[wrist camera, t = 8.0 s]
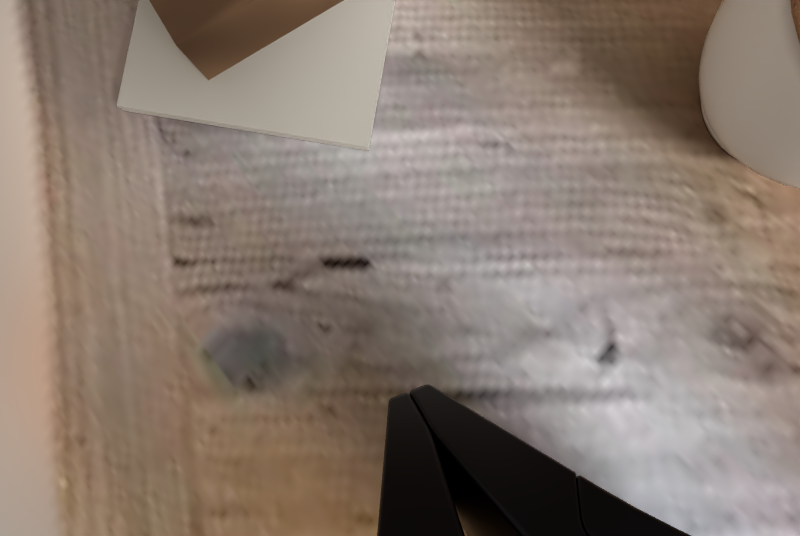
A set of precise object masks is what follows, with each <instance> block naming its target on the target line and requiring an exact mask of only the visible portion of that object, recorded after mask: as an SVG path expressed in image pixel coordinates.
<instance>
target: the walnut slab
mask: <svg viewBox="0 0 800 536" xmlns="http://www.w3.org/2000/svg"><path fill="white" fill-rule="evenodd" d="M149 1H150V3H151V4H152V6H153V8H154V9H155V11H156V13H157V14H158V16H159V18H160V19H161V21H162V23H163V24H164V26H165V28H166V29H167V31H168V33H169V34H170V36H171V38H172V39H173V41H174V43H175V44H176V46H177V47H178V48H179V49H180V50H181V51H182V53H183V54H184V55H185V56H186V57H187V58H188V59H189V60H190V61H191V62H192V63H193V64H194V65H195V66H196V68H197V69H198V70H199V71H200V72H201V73H202V74H203V75H204V76H205V77H206V78H207V79H208V80H210V79H212V78H213V77H215V76H217V75H219V74H220V73H222V72H224V71H225V70H227V69H229V68H230V67H232V66H234V65H235V64H237V63H239V62H241V61H242V60H244V59H246V58H247V57H249V56H251V55H252V54H254V53H256V52H257V51H259V50H261V49H262V48H264V47H266V46H268V45H269V44H271V43H273V42H274V41H276V40H278V39H279V38H281V37H283V36H284V35H286V34H288V33H289V32H291V31H293V30H295V29H296V28H298V27H300V26H301V25H303V24H305V23H306V22H308V21H310V20H311V19H313V18H315V17H316V16H318V15H320V14H322V13H323V12H325V11H327V10H328V9H330V8H332V7H333V6H335V5H337V4H338V3H340V2H342V1H344V0H149Z"/></svg>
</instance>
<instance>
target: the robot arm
mask: <svg viewBox="0 0 800 536" xmlns="http://www.w3.org/2000/svg"><path fill="white" fill-rule="evenodd" d="M461 524H462V526H463V528H464V530H465V531H466V533H467V535H468V536H691V535H689V534H687V533H684V532H682V531H680V530H678V529H676V528H674V527H672V526H670V525H668V524H666V523H664V522H663V521H661V520H659V519H657V518H655V517H653V516H651V515H649V514H647V513H645V512H643V511H641V510H639V509H637V508H635V507H633V506H632V505H630V504H628V503H626V502H625V501H623V500H621V499H619V498H618V497H616V496H614V495H612V494H611V493H609V492H607V491H605V490H604V489H602V488H600V487H599V486H597V485H595V484H594V483H592V482H590V481H589V480H587V479H585V478H584V477H582V476H580V475H579V476H576V473H575V472H574V471H572V470H570V469H569V468H567V467H565V466H564V465H562V464H560V463H559V462H557V461H555V460H554V459H552V458H550V457H549V456H547V455H545V454H544V453H542V452H540V451H539V450H537V449H535V448H534V447H532V446H530V445H529V444H527V443H525V442H524V441H522V440H520V439H519V438H517V437H516V436H514V435H512V434H511V433H509V432H507V431H506V430H504V429H502V428H501V427H499V426H497V425H496V424H494V423H492V422H491V421H489V420H487V419H486V418H484V417H482V416H481V415H479V414H477V413H476V412H474V411H472V410H471V409H469V408H467V407H466V406H464V405H462V404H461V403H459V402H458V401H456V400H454V399H453V398H451V397H449V396H448V395H446V394H444V393H443V392H441V391H439V390H438V389H436V388H434V387H433V386H431V385H428V384H427V385H423V386H421V387H418V388H416V389H413V390H411V392H410V394H409V393H403V394H400V395H398V396H395V397H393V398H391V399H390V400H389V404H388V416H387V427H386V439H385V451H384V462H383V474H382V486H381V497H380V509H379V520H378V532H377V536H465V535H464V532H463V529H462V526H461Z"/></svg>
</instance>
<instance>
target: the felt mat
mask: <svg viewBox="0 0 800 536" xmlns="http://www.w3.org/2000/svg"><path fill="white" fill-rule="evenodd" d="M394 5H395V0H344V1H342V2H340V3H338V4H337V5H335V6H333V7H332V8H330V9H328V10H327V11H325V12H323V13H322V14H320V15H318V16H316V17H315V18H313V19H311V20H310V21H308V22H306V23H305V24H303V25H301V26H300V27H298V28H296V29H295V30H293V31H291V32H289V33H288V34H286V35H284V36H283V37H281V38H279V39H278V40H276V41H274V42H273V43H271V44H269V45H268V46H266V47H264V48H262V49H261V50H259V51H257V52H256V53H254V54H252V55H251V56H249V57H247V58H246V59H244V60H242V61H241V62H239V63H237V64H235V65H234V66H232V67H230V68H229V69H227V70H225V71H224V72H222V73H220V74H219V75H217V76H215V77H213V78H212V79H210V80H208V79H207V78H206V77H205V76H204V75H203V74H202V73H201V72H200V71H199V70H198V69H197V68H196V66H195V65H194V64H193V63H192V62H191V61H190V60H189V59H188V58H187V57H186V56H185V55H184V54H183V53H182V51H181V50H180V49H179V48H178V47H177V46H176V44H175V43H174V41H173V39H172V38H171V36H170V34H169V33H168V31H167V29H166V28H165V26H164V24H163V23H162V21H161V19H160V18H159V16H158V14H157V13H156V11H155V9H154V8H153V6H152V4H151V3H150V1H149V0H139V2H138V6H137V11H136V16H135V21H134V25H133V30H132V35H131V40H130V44H129V49H128V54H127V59H126V63H125V68H124V73H123V78H122V82H121V87H120V92H119V96H118V101H117V106H118V107H119V108H121V109H122V110H124V111H129V112H135V113H141V114H147V115H153V116H159V117H165V118H171V119H177V120H183V121H190V122H196V123H202V124H208V125H214V126H220V127H226V128H232V129H238V130H244V131H251V132H257V133H263V134H269V135H275V136H281V137H287V138H293V139H299V140H305V141H312V142H318V143H324V144H330V145H336V146H342V147H348V148H354V149H360V150H366V151H369V147H370V141H371V135H372V130H373V124H374V118H375V113H376V107H377V101H378V96H379V90H380V84H381V79H382V73H383V68H384V62H385V56H386V51H387V45H388V39H389V34H390V28H391V22H392V17H393V11H394Z"/></svg>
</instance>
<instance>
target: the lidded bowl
mask: <svg viewBox="0 0 800 536" xmlns="http://www.w3.org/2000/svg"><path fill="white" fill-rule="evenodd" d="M699 90H700V101H701V111H702V115H703V119H704V121H705V124H706V126H707V129H708V130H709V132H710V134H711V135H712V137H713V139H714V140H715V141H716V142H717V143H718V144H719V146H720V147H721V148H722V149H723V150H725V151H726V152H727V153H728V154H729V155H731V156H732V157H734V158H736V159H737V160H738V161H739V162H740V163H742V164H743V165H744V166H746V167H748V168H749V169H751V170H752V171H754V172H755V173H757V174H759V175H761V176H764V177H766V178H768V179H770V180H773V181H775V182H778V183H780V184H783V185H786V186H790V187H794V188H797V189H800V0H723V1H722V2H721V4H720V6H719V8H718V11H717V13H716V15H715V17H714V19H713V21H712V24H711V26H710V28H709V31H708V33H707V35H706V39H705V43H704V47H703V50H702V55H701V60H700V68H699Z"/></svg>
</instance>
